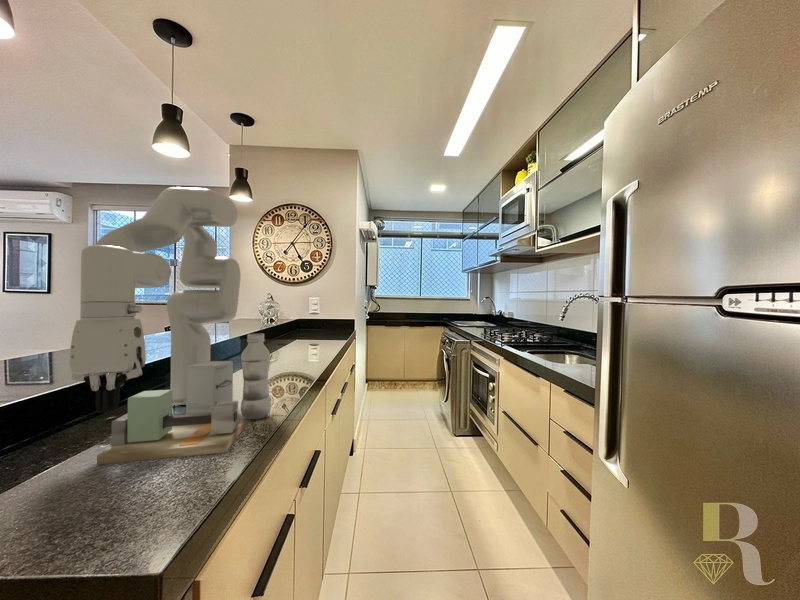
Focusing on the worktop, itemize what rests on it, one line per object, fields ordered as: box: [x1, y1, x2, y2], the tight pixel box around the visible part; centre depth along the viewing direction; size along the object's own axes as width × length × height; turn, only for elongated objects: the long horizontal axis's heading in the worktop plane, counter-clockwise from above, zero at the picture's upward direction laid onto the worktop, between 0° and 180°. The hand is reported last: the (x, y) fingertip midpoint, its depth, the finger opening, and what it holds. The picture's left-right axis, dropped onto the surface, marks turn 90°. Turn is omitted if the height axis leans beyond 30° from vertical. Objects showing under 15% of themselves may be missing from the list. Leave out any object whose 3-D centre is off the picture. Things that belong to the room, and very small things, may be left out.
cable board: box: [96, 400, 245, 465], centre depth 61 cm, size 12×20×7 cm, turn 102°
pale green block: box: [127, 389, 173, 442], centre depth 60 cm, size 5×5×8 cm
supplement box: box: [185, 360, 234, 415], centre depth 79 cm, size 7×7×13 cm
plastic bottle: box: [240, 333, 272, 420], centre depth 75 cm, size 6×7×20 cm
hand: (107, 410), depth 59 cm, fingers closed
